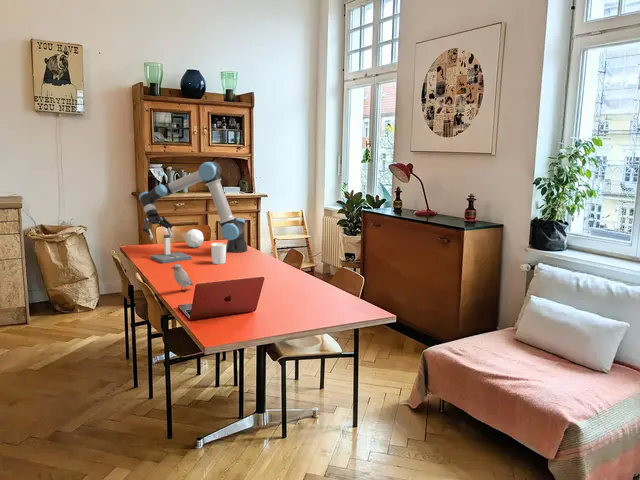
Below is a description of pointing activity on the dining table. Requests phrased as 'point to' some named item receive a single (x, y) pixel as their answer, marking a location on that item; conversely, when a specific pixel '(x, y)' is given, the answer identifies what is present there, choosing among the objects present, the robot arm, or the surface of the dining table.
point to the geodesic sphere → (194, 238)
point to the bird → (181, 276)
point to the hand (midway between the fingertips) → (162, 237)
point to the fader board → (171, 257)
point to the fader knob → (166, 244)
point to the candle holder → (218, 253)
